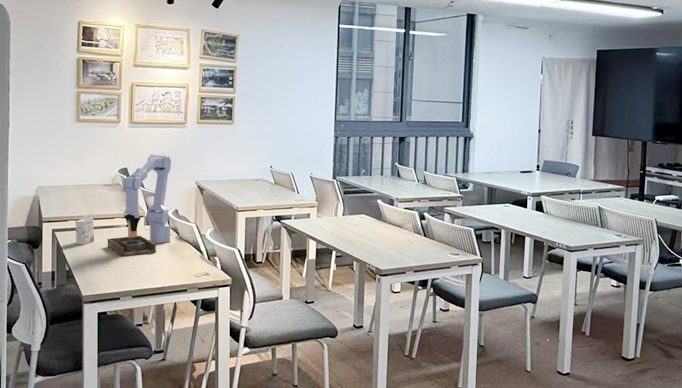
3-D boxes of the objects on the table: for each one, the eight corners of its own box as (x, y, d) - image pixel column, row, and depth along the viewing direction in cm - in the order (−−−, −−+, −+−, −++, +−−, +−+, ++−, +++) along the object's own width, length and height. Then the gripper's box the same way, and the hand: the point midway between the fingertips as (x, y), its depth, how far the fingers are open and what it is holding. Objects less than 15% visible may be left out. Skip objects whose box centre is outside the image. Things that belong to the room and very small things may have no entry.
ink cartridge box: (85, 240, 347) (84, 212, 344) (94, 241, 346) (93, 212, 343) (75, 244, 338) (74, 214, 336) (84, 245, 337) (84, 215, 335)
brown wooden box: (140, 243, 344) (139, 235, 343) (155, 252, 326) (155, 244, 326) (107, 246, 335) (107, 238, 334) (122, 256, 317) (121, 248, 316)
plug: (135, 235, 330) (134, 219, 329) (137, 236, 327) (137, 220, 326) (127, 236, 328) (127, 219, 327) (130, 237, 325) (129, 221, 324)
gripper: (118, 200, 329) (119, 228, 331) (128, 205, 317) (129, 233, 319) (133, 199, 333) (133, 227, 335) (143, 204, 321) (144, 232, 323)
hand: (132, 230), depth 327 cm, fingers closed on plug, 3 cm apart
